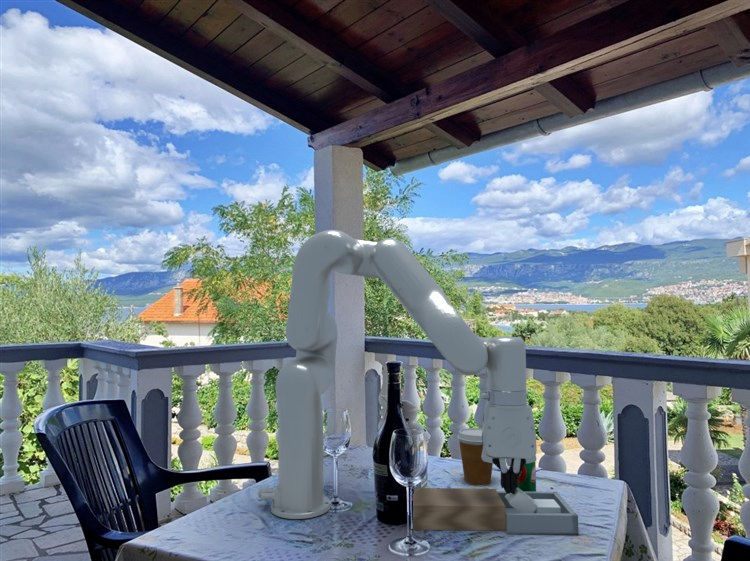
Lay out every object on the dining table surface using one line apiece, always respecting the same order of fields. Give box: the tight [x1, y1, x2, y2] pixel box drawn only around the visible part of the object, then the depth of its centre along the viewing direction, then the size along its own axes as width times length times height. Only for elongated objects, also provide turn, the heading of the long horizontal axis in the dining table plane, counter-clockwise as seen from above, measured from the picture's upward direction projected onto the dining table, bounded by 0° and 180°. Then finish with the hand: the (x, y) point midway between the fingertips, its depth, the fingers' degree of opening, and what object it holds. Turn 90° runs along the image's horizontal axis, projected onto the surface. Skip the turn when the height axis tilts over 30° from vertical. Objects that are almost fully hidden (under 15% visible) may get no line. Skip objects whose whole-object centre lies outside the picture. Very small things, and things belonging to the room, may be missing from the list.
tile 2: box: [533, 499, 561, 513], centre depth 102 cm, size 4×4×3 cm
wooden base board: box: [413, 487, 506, 532], centre depth 103 cm, size 18×10×4 cm, turn 87°
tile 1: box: [505, 487, 538, 513], centre depth 102 cm, size 4×4×3 cm
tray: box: [497, 490, 580, 536], centre depth 102 cm, size 13×13×4 cm
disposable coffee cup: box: [457, 427, 494, 486], centre depth 127 cm, size 10×10×12 cm
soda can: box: [517, 461, 537, 492], centre depth 116 cm, size 5×5×12 cm
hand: (509, 491), depth 103 cm, fingers closed
